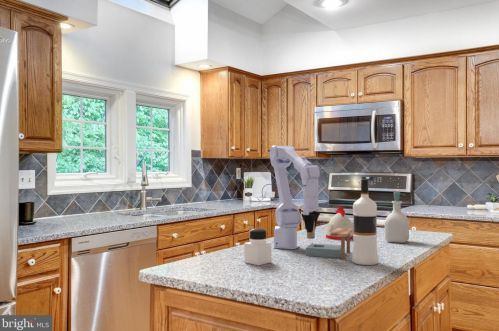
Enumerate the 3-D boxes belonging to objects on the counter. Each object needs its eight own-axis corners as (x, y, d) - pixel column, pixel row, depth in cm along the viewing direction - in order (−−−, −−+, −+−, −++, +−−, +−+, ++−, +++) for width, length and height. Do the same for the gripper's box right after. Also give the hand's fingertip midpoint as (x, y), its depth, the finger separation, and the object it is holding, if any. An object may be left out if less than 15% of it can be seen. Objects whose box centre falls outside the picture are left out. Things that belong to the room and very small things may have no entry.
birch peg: (306, 238, 166) (306, 217, 166) (307, 237, 169) (307, 216, 168) (313, 238, 165) (313, 217, 165) (315, 237, 167) (315, 217, 167)
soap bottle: (406, 244, 190) (405, 192, 190) (383, 242, 195) (383, 191, 195) (409, 240, 198) (409, 191, 198) (388, 239, 203) (388, 190, 203)
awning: (330, 258, 162) (330, 233, 162) (337, 251, 175) (337, 227, 175) (346, 259, 159) (346, 233, 159) (352, 252, 172) (352, 228, 172)
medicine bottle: (271, 262, 156) (271, 229, 156) (258, 265, 150) (258, 231, 150) (257, 259, 161) (257, 227, 161) (243, 262, 155) (243, 229, 155)
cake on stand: (333, 240, 200) (332, 208, 200) (321, 236, 213) (321, 205, 213) (360, 239, 203) (360, 207, 203) (347, 234, 216) (347, 205, 216)
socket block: (305, 255, 167) (305, 247, 167) (312, 250, 177) (312, 243, 177) (339, 257, 162) (339, 250, 162) (344, 252, 172) (344, 245, 172)
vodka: (349, 260, 159) (348, 178, 159) (374, 260, 159) (374, 178, 159) (355, 266, 149) (354, 179, 149) (381, 265, 149) (381, 179, 149)
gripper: (316, 198, 158) (316, 235, 158) (325, 195, 172) (325, 229, 172) (297, 197, 161) (297, 233, 161) (308, 194, 174) (308, 228, 174)
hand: (310, 231), depth 167 cm, fingers closed on birch peg, 3 cm apart
